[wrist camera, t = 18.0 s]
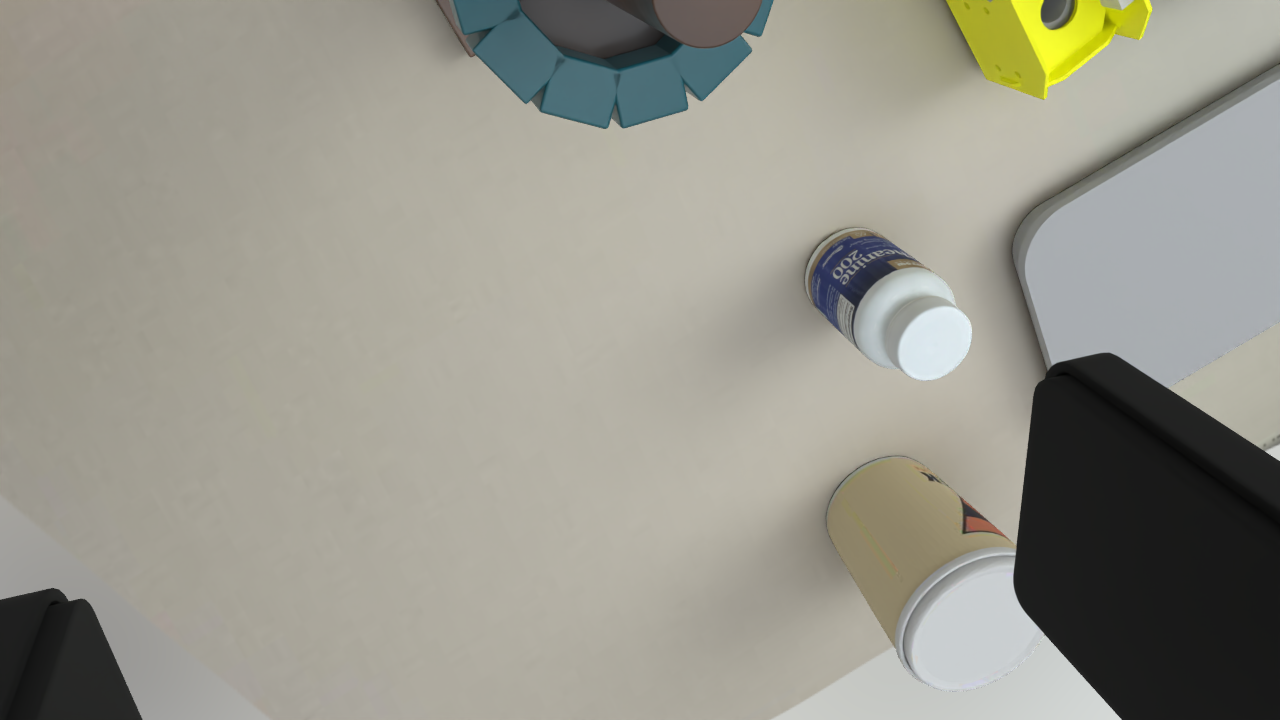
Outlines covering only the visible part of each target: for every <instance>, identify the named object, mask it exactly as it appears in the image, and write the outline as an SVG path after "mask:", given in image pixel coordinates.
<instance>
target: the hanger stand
mask: <svg viewBox="0 0 1280 720" xmlns="http://www.w3.org/2000/svg"><path fill="white" fill-rule="evenodd" d="M435 1H436V2H437V4H438V6H439V7H440V9H441V11H442V12H443V14H444V16H445V17H446V19H447V20H448V22H449V24H450V25H451V27H452V29H453V30H454V32H455V34H456V35H457V37H458V39H459V40H460V42H461V44H462V45H463V47H464V49H465V50H466V52H467V54H468V55H469V56H470V57H473V56H475V55H476V54H475V53H474V52H473V51H472V50H471V48H470V47H469V45H468V44H467V43H466V41H465V40H466V38H467V37H468V36H469V35H463V33H462V32H461V31H460V29H459V28H458V26H457V25H456V23H455V19H454V16H453V12H452V9H451V6H450V2H449V0H435ZM519 1H520V4H521V8H522V11H523V12H524V13H525V14H526V15H527V16H528V17H529V18H530V19H531V20H532V21H533V22H534V24H535V25H536V26H537V27H538V28H539V29H540V30H541V31H542V32H543V33H544V34H545V35H546V36H547V37H548V38H549V39H550V41H551V42H552V43H553V44H554V45H556V46H560V47H563V48H567V49H570V50H574V51H577V52H581V53H585V54H588V55H592V56H595V57H599V58H602V59H606V58H610V57H613V56H617V55H621V54H624V53H628V52H631V51H635V50H638V49H642V48H645V47H649V46H653V45H655V44H656V43H657V42H658V41H659V40H660V39H661V38H662V37H663V36H664V35H665V34H666V35H667V36H669V37H671V38H673V39H675V40H676V41H678V42H680V43H682V44H684V45H687V46H689V47H693V48H700V49H708V48H715V47H719V46H722V45H725V44H727V43H729V42H731V41H733V40H734V39H736V38H737V37H738V36H740V35H741V34H742V33H743V32H744V31H745V30H746V29H747V28H748V27H749V26H750V24H751V23H752V22H753V20H754V19H755V17H756V15H757V13H758V11H759V9H760V6H761V4H762V0H519Z"/></svg>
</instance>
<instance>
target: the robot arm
mask: <svg viewBox="0 0 1280 720" xmlns="http://www.w3.org/2000/svg"><path fill="white" fill-rule="evenodd" d="M1013 585H1014V590H1015V594H1016V597H1017V600H1018V602H1019V604H1020V605H1021V607H1022V609H1023V610H1024V611H1025V613H1026V614H1027V615H1028V616H1029V617H1030V619H1031V620H1032V621H1033V622H1034V623H1035V624H1036V625H1037V626H1038V627H1039V629H1040V630H1041V631H1042V632H1043V633H1044V634H1045V635H1046V636H1047V637H1048V638H1049V640H1050V641H1051V642H1052V643H1053V644H1054V645H1055V646H1056V647H1057V648H1058V650H1059V651H1060V652H1061V653H1062V654H1063V655H1064V656H1065V657H1066V658H1067V659H1068V661H1069V662H1070V663H1071V664H1072V665H1073V666H1074V667H1075V668H1076V669H1077V671H1078V672H1079V673H1080V674H1081V675H1082V676H1083V677H1084V678H1085V679H1086V681H1087V682H1088V683H1089V684H1090V685H1091V686H1092V687H1093V688H1094V689H1095V690H1096V692H1097V693H1098V694H1099V695H1100V696H1101V697H1102V698H1103V699H1104V700H1105V702H1106V703H1107V704H1108V705H1109V706H1110V707H1111V708H1112V709H1113V710H1114V711H1115V713H1116V714H1117V715H1118V716H1119V717H1120V718H1121V719H1122V720H1280V461H1279V460H1277V459H1275V458H1274V457H1272V456H1271V455H1269V454H1268V453H1266V452H1265V451H1263V450H1262V449H1260V448H1259V447H1257V446H1256V445H1254V444H1252V443H1251V442H1249V441H1248V440H1246V439H1245V438H1243V437H1242V436H1240V435H1239V434H1237V433H1236V432H1234V431H1232V430H1231V429H1229V428H1228V427H1226V426H1225V425H1223V424H1222V423H1220V422H1219V421H1217V420H1216V419H1214V418H1212V417H1211V416H1209V415H1208V414H1206V413H1205V412H1203V411H1202V410H1200V409H1199V408H1197V407H1196V406H1194V405H1192V404H1191V403H1189V402H1188V401H1186V400H1185V399H1183V398H1182V397H1180V396H1179V395H1177V394H1176V393H1174V392H1172V391H1171V390H1169V389H1168V388H1166V387H1165V386H1163V385H1162V384H1160V383H1159V382H1157V381H1156V380H1154V379H1152V378H1151V377H1149V376H1148V375H1146V374H1145V373H1143V372H1142V371H1140V370H1139V369H1137V368H1136V367H1134V366H1132V365H1131V364H1129V363H1128V362H1126V361H1125V360H1123V359H1122V358H1120V357H1119V356H1117V355H1114V354H1112V353H1110V352H1108V353H1098V354H1093V355H1089V356H1084V357H1080V358H1075V359H1071V360H1066V361H1062V362H1058V363H1056V364H1054V365H1052V366H1051V367H1050V369H1049V370H1048V372H1047V373H1046V377H1045V379H1044V380H1042V381H1040V382H1039V383H1038V385H1037V386H1036V388H1035V392H1034V396H1033V405H1032V414H1031V423H1030V432H1029V441H1028V449H1027V458H1026V467H1025V476H1024V485H1023V494H1022V503H1021V511H1020V520H1019V529H1018V538H1017V547H1016V556H1015V564H1014V573H1013ZM0 720H142V718H141V715H140V713H139V711H138V709H137V706H136V704H135V702H134V700H133V698H132V695H131V693H130V691H129V688H128V686H127V684H126V682H125V680H124V677H123V675H122V673H121V671H120V668H119V666H118V664H117V662H116V659H115V657H114V655H113V653H112V650H111V648H110V646H109V644H108V641H107V639H106V637H105V635H104V632H103V630H102V628H101V626H100V623H99V621H98V619H97V617H96V614H95V612H94V610H93V608H92V607H91V605H90V604H89V603H88V602H87V601H86V600H85V599H78V600H73V601H68V599H67V598H66V596H65V595H64V594H63V593H62V592H61V591H60V590H58V589H54V588H51V589H46V590H42V591H38V592H33V593H28V594H24V595H19V596H15V597H11V598H6V599H2V600H0Z"/></svg>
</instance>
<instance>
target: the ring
mask: <svg viewBox="0 0 1280 720" xmlns="http://www.w3.org/2000/svg"><path fill="white" fill-rule="evenodd" d="M773 1H774V0H762V4H761V6H760V9H759V11H758V13H757V15H756V17H755V19H754V20H753V22H752V23H751V24H750V26H749V27H748V28H747V29H746V30H745V31H744V33H747V34H751V35H754V36H757V37H760V36H761V35H762V33H763V30H764V27H765V24H766V21H767V18H768V15H769V12H770V10H771V7H772V4H773ZM449 2H450V6H451V9H452V12H453V16H454V19H455V23H456V25H457V26H458V28H459V29H460V31H461V32H462V33H463V35H469V36H468V37H467V38H466V40H465V41H466V43H467V44H468V45H469V47H470V48H471V50H472V51H473V52H474V53H475V54H476V55H477V56H478V57H479V58H480V59H481V60H482V61H483V62H484V63H485V64H486V65H487V66H488V67H489V68H490V69H491V70H492V71H493V72H494V73H495V74H496V75H497V76H498V77H499V78H500V79H501V80H502V81H503V82H504V83H505V84H506V85H507V86H508V87H509V88H510V89H511V90H512V91H513V92H514V93H515V94H516V95H517V96H518V97H519V98H520V99H521V100H522V101H523V102H524V103H525V104H527V103H528V102H529V101H530V100H531V101H532V102H533V103H534V105H535V106H536V107H537V108H538V110H539V111H540V112H541V113H545V114H549V115H553V116H557V117H560V118H564V119H568V120H572V121H576V122H580V123H584V124H588V125H591V126H595V127H599V128H603V129H607V128H608V127H609V123H610V120H611V118H612V119H613V120H614V121H615V122H616V123H617V124H618V125H619V126H621V127H622V128H628V127H631V126H634V125H638V124H641V123H645V122H648V121H652V120H655V119H658V118H662V117H665V116H669V115H672V114H676V113H679V112H682V111H686V110H687V109H688V102H687V97H686V92H688V93H689V94H691V95H692V96H694V97H695V98H697V99H698V100H700V101H703V100H704V99H705V98H706V97H707V96H708V95H709V94H710V93H711V92H712V91H713V90H714V89H715V88H716V87H717V86H718V85H719V84H720V83H721V82H722V81H723V80H724V79H725V78H726V77H727V76H728V75H729V74H730V73H731V72H732V71H733V70H734V69H735V68H736V67H737V66H738V65H739V64H740V63H741V62H742V61H743V60H744V59H745V58H746V57H747V56H748V55H749V54H750V53H751V52H752V49H751V47H750V46H749V45H748V43H747V42H746V41H745V40H744V39H743V37H742V36H741V35H740V36H738V37H737V38H736V39H734V40H733V41H731V42H729V43H727V44H725V45H722V46H719V47H715V48H708V49H700V48H693V47H689V46H687V45H684V44H682V43H680V42H678V41H676V40H675V39H673V38H671V37H669V36H667V35H666V34H665V35H664V36H663V37H662V38H661V39H660V40H659V41H658V42H657V43H656V44H655V45H653V46H649V47H645V48H642V49H638V50H635V51H631V52H628V53H624V54H621V55H617V56H613V57H610V58H606V59H602V58H599V57H595V56H592V55H588V54H585V53H581V52H577V51H574V50H570V49H567V48H563V47H560V46H556V45H554V44H553V43H552V42H551V41H550V39H549V38H548V37H547V36H546V35H545V34H544V33H543V32H542V31H541V30H540V29H539V28H538V27H537V26H536V25H535V24H534V22H533V21H532V20H531V19H530V18H529V17H528V16H527V15H526V14H525V13H524V12H523V11H522V8H521V4H520V1H519V0H449Z"/></svg>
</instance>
